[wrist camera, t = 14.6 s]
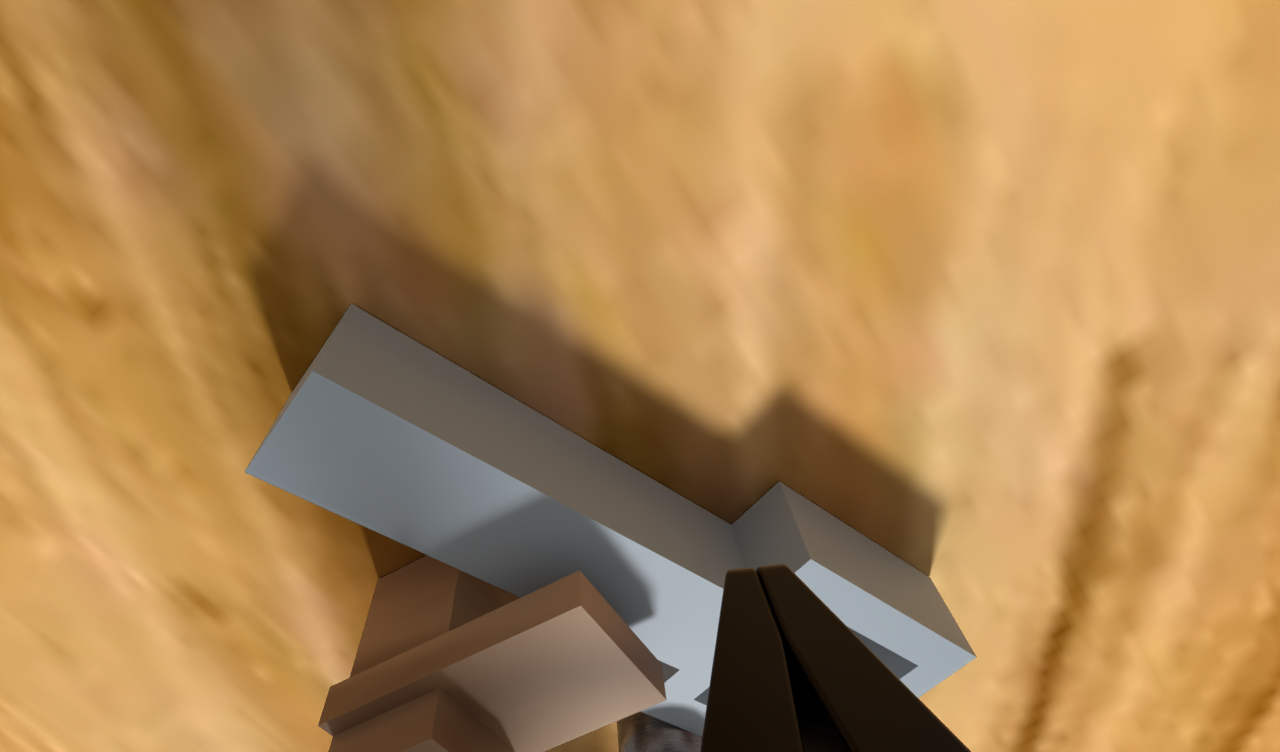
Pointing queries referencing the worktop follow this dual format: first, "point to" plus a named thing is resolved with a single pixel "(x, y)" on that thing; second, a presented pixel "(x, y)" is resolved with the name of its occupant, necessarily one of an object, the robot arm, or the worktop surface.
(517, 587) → the link
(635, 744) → the pintle
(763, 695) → the robot arm
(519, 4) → the worktop surface
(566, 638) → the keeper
